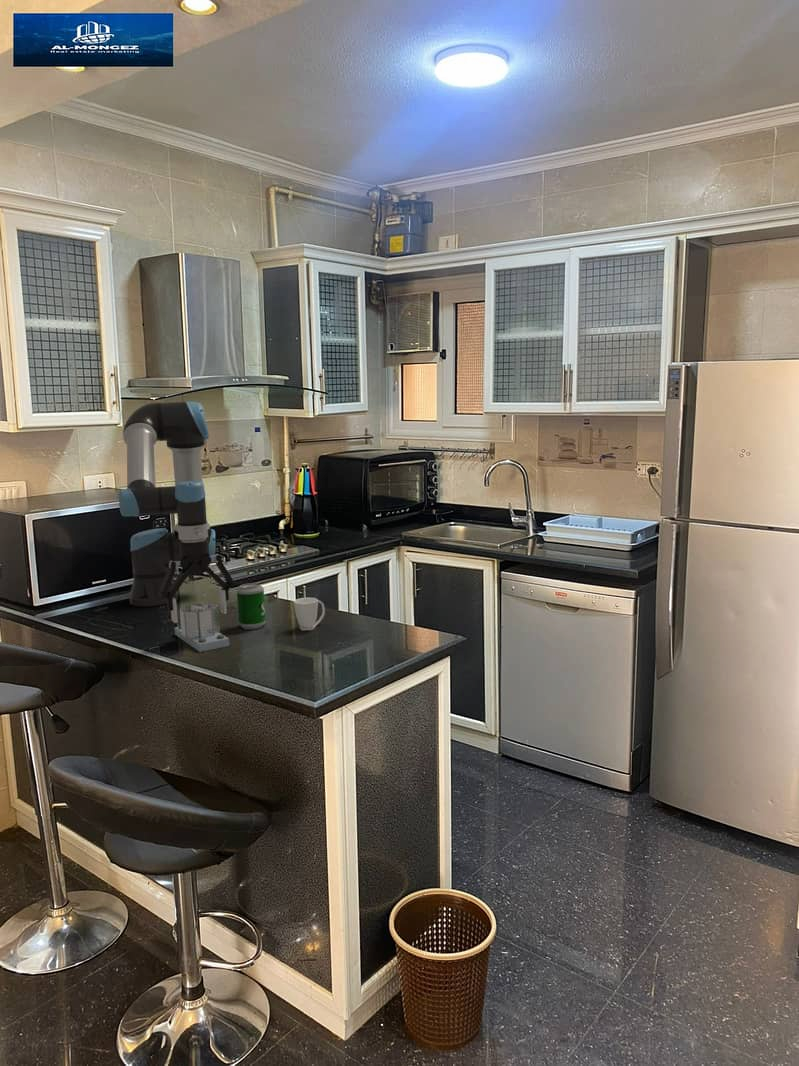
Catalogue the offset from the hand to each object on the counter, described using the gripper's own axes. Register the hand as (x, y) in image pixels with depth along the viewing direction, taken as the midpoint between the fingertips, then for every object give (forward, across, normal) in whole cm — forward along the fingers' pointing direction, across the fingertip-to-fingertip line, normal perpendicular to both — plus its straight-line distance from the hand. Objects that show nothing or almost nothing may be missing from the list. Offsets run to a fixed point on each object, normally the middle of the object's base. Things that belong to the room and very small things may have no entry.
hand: (199, 617), depth 212 cm
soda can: (+7, +16, +3) cm, 18 cm away
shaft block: (+6, 0, 0) cm, 6 cm away
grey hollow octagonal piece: (+4, 0, 0) cm, 4 cm away
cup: (+6, +29, -9) cm, 31 cm away
